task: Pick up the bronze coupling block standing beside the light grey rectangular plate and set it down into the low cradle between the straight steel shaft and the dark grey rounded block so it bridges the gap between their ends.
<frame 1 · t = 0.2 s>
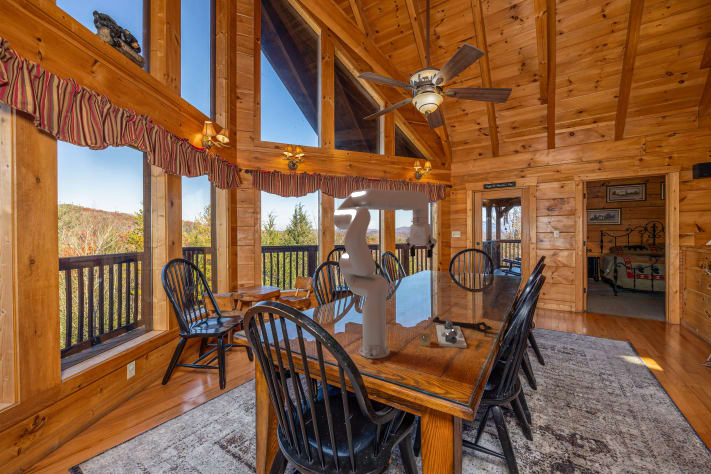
hand: (420, 257, 138), 37 cm above the table, tool pointing down, fingers open, 9 cm apart
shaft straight: (448, 330, 141), resting on light grey rectangular plate
light grey rectangular plate: (450, 336, 133), on the table
wrench: (461, 327, 148), on the table
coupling: (424, 344, 125), on the table
dark grey rounded block: (451, 344, 124), resting on light grey rectangular plate
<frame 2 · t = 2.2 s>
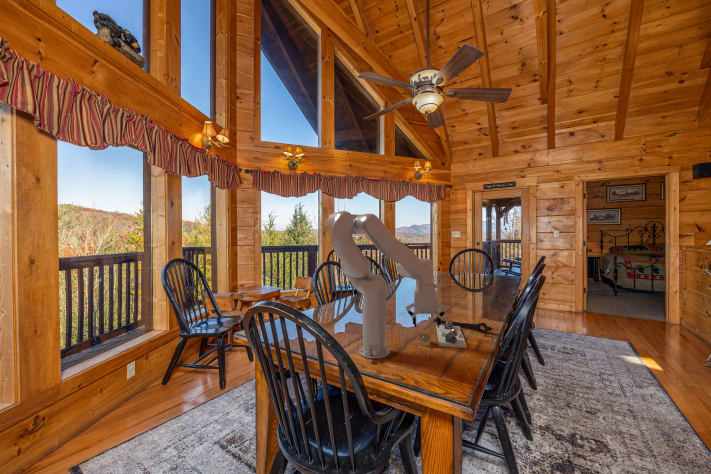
hand: (426, 326, 125), 8 cm above the table, tool pointing down, fingers open, 9 cm apart
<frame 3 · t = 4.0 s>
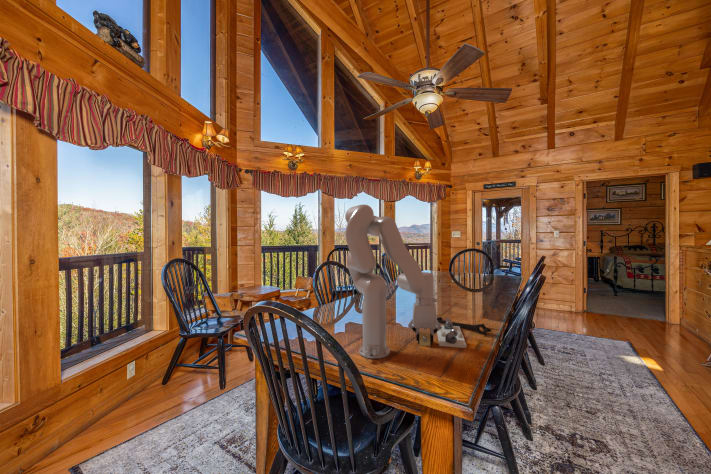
hand: (424, 342, 125), 1 cm above the table, tool pointing down, fingers closed on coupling, 4 cm apart
wrench: (462, 328, 146), on the table
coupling: (424, 343, 125), on the table, touching gripper
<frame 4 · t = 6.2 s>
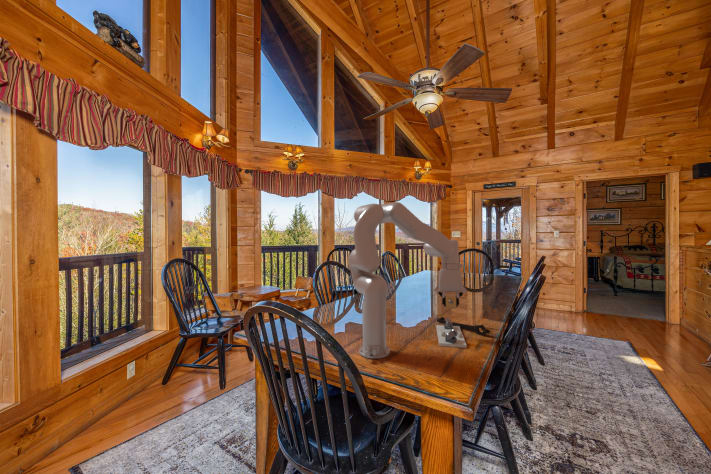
hand: (450, 305, 132), 15 cm above the table, tool pointing down, fingers closed on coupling, 4 cm apart
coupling: (450, 307, 132), point 14 cm above the table, touching gripper
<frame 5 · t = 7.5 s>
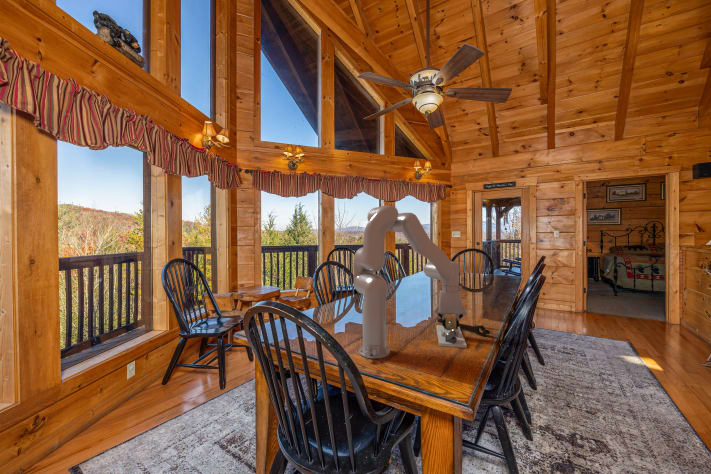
hand: (450, 327, 132), 5 cm above the table, tool pointing down, fingers closed on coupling, 4 cm apart
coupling: (450, 328, 132), point 4 cm above the table, touching gripper
when the fingers open (3 cm above the table, at t = 8.5 s): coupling drops 1 cm, resting on light grey rectangular plate.
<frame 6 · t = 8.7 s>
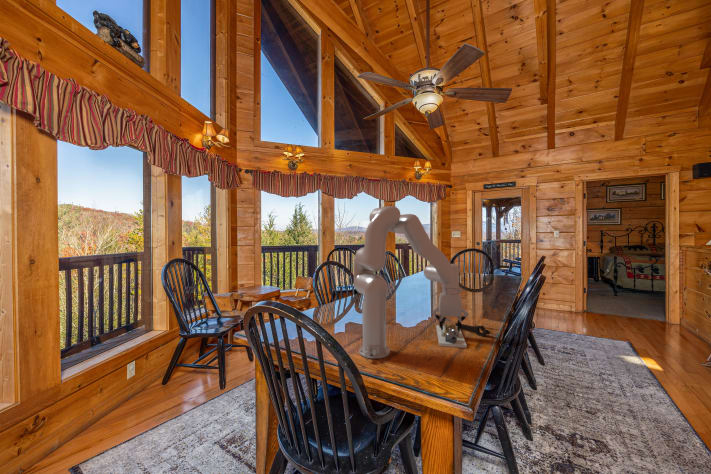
hand: (450, 329, 132), 4 cm above the table, tool pointing down, fingers open, 6 cm apart
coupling: (450, 334, 132), point 1 cm above the table, touching light grey rectangular plate
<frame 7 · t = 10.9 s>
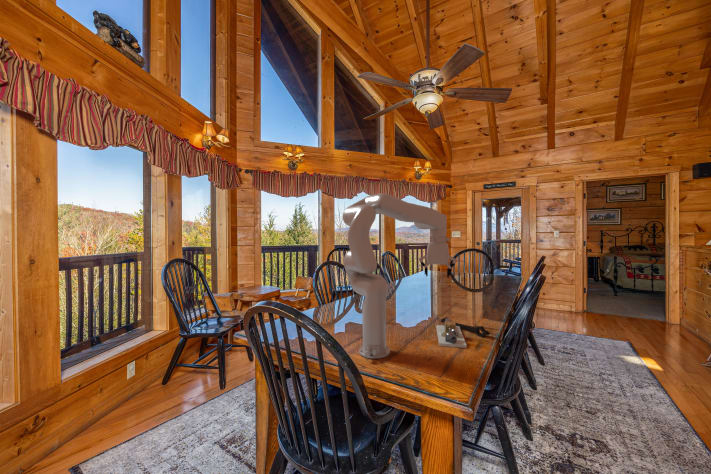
hand: (437, 276, 136), 27 cm above the table, tool pointing down, fingers open, 9 cm apart
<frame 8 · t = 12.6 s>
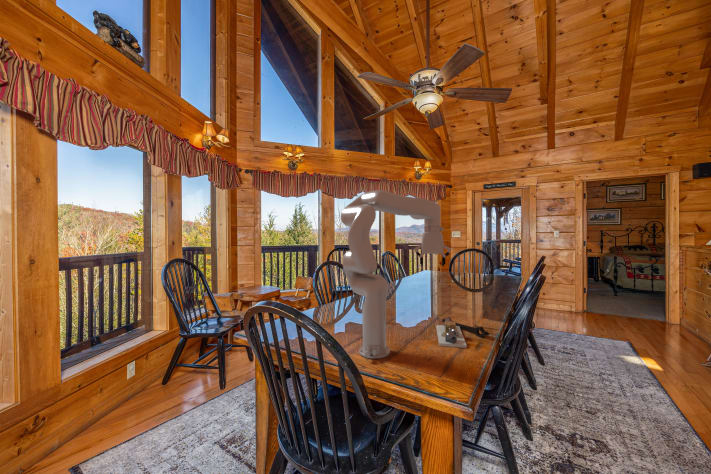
hand: (432, 265, 138), 32 cm above the table, tool pointing down, fingers open, 9 cm apart
at the end: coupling 0.0 cm off-centre on the light grey rectangular plate, point 1.2 cm above the light grey rectangular plate's base; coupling tilted 0°; the gripper is holding nothing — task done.
